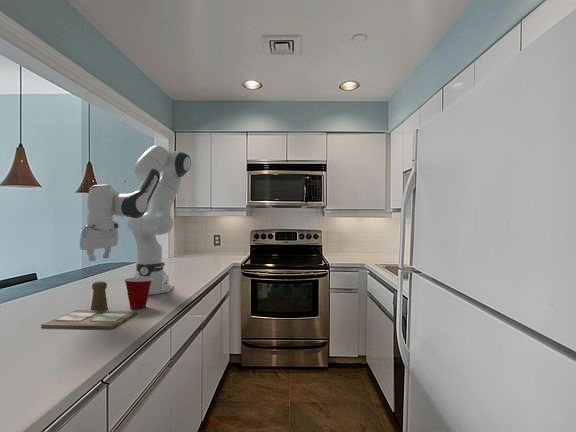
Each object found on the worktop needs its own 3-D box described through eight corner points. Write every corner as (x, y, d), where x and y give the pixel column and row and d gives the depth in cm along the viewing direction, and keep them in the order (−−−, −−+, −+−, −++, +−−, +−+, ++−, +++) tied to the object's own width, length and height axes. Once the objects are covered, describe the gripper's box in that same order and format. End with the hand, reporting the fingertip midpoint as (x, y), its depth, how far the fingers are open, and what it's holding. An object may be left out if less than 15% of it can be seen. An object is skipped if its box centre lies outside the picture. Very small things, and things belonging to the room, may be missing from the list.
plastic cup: (158, 305, 146) (158, 276, 146) (140, 312, 135) (141, 281, 135) (136, 303, 148) (136, 275, 148) (117, 309, 138) (117, 279, 138)
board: (76, 312, 134) (76, 309, 134) (137, 313, 133) (137, 310, 133) (41, 327, 116) (41, 323, 116) (111, 329, 115) (112, 325, 115)
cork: (100, 312, 135) (100, 283, 135) (86, 310, 136) (87, 282, 136) (111, 307, 141) (111, 280, 141) (98, 307, 142) (98, 280, 142)
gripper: (92, 225, 128) (91, 263, 128) (121, 224, 148) (120, 257, 148) (75, 225, 128) (74, 262, 128) (106, 224, 148) (105, 256, 148)
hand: (99, 259), depth 138 cm, fingers open, 8 cm apart
